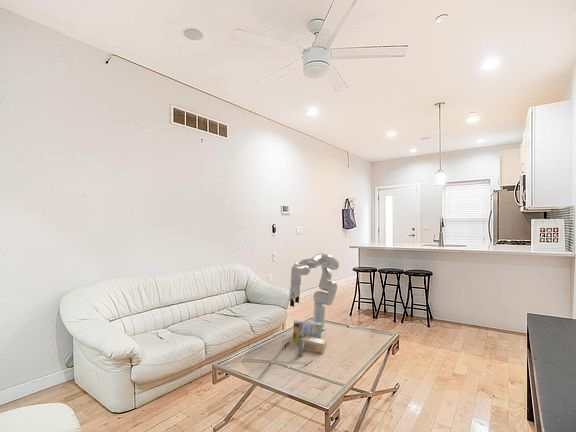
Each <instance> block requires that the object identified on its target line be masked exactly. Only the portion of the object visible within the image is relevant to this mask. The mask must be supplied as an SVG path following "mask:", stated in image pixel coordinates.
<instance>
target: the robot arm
mask: <svg viewBox="0 0 576 432" xmlns="http://www.w3.org/2000/svg"><path fill="white" fill-rule="evenodd" d="M339 263H340V262H339V261H338V260H337V259H336V258H335V257H334V256H333V255H332V254H327V253H317V254H315V255H314V256H312V257H310V258H307V259H301V260H299V261H296V262H295V263H294V264H293V265H292V267H291V270H290V271H291V273H290V288H289V307H293V308H294V307H295V303H296V304H300V293H301V287H300V286H301V282H302V276H308V275H309V274H310V272H311V269H316V268H318V267H319V266H320V267H321V272H322V274H321V277H320V279H319V283H318V289H320V290H316V291H315V292H314V294H313V321H312V322H318V323H321V332H322V330H323V331H325V330H326V329H327V327H325V323H326V322H325V319H326V317H325V316H326V306H331V305H332V304H333V303H334V301H335V297H336V294H337V291H338V284H337V282H336V281H334V280H332V275H333V273H332V270H333V271H337V270H338V269H339V266H340V264H339Z"/></svg>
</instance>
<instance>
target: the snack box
mask: <svg viewBox="0 0 576 432" xmlns="http://www.w3.org/2000/svg"><path fill="white" fill-rule="evenodd" d="M292 332H293V333H292V342H293V343H300V338H303V339H304V337H305V336H311V337H315V338H319V339H322V331H321V323H318V322H313V321H305V320H293V331H292Z"/></svg>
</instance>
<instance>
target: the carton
mask: <svg viewBox="0 0 576 432" xmlns="http://www.w3.org/2000/svg"><path fill="white" fill-rule="evenodd" d="M303 342H304V349H303V350H308V351H312V352H316V353H320V354H324V353H325V351H326V350H327V342H328V341H327V339H323V338H321V339H319V338H315V337H311V336H305V337H304V339H303Z"/></svg>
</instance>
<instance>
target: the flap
mask: <svg viewBox="0 0 576 432" xmlns="http://www.w3.org/2000/svg"><path fill="white" fill-rule="evenodd" d="M304 350H305V349H304V342H303V338H300V342H299V352H298V356H299V357H304V356H303V354H304Z"/></svg>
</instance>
